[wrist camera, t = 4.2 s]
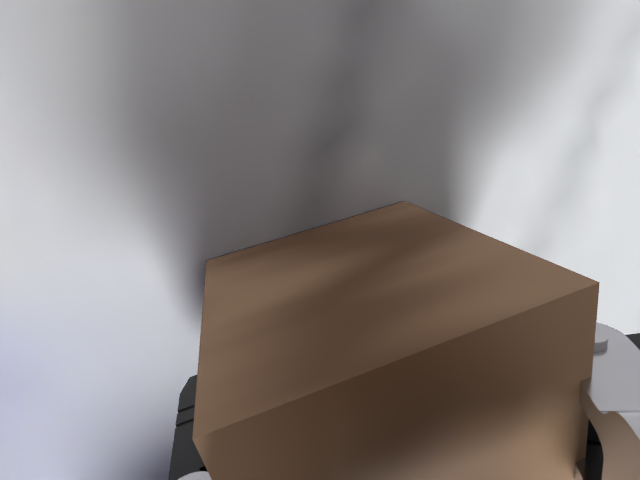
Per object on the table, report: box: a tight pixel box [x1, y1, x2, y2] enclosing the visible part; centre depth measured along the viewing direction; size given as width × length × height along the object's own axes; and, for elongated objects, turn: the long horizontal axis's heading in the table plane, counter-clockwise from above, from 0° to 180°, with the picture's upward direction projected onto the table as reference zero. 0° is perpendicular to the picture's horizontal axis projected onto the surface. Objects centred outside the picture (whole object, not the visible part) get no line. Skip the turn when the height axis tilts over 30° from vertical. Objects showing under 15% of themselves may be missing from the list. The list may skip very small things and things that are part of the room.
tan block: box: [192, 201, 599, 480], centre depth 9 cm, size 6×6×6 cm
